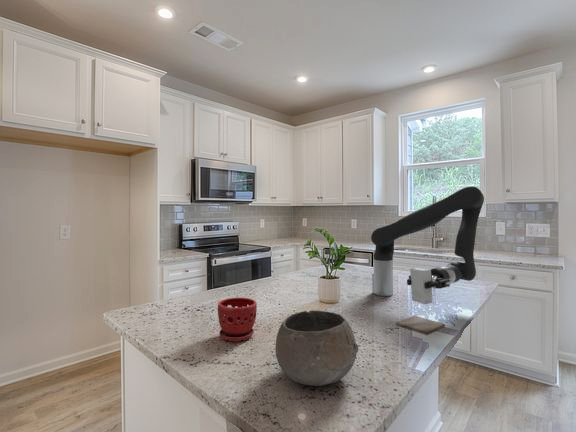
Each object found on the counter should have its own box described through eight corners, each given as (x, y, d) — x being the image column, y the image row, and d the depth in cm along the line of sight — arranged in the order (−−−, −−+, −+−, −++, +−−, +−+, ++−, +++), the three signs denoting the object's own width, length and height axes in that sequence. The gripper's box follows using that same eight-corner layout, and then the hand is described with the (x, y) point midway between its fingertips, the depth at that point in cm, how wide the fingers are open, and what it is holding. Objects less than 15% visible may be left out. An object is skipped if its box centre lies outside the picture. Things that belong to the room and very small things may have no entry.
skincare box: (433, 303, 114) (432, 269, 114) (424, 305, 112) (423, 270, 112) (419, 298, 119) (418, 266, 119) (410, 300, 117) (409, 268, 117)
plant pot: (240, 347, 100) (239, 310, 99) (210, 339, 107) (209, 304, 106) (264, 333, 111) (264, 299, 110) (236, 326, 118) (235, 294, 117)
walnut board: (396, 324, 117) (396, 322, 117) (414, 317, 124) (414, 315, 124) (426, 334, 107) (426, 332, 107) (445, 326, 114) (445, 324, 114)
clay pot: (296, 410, 68) (295, 341, 68) (264, 367, 87) (263, 312, 87) (375, 387, 77) (374, 325, 76) (330, 351, 96) (329, 302, 95)
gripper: (423, 265, 129) (399, 270, 120) (459, 270, 118) (435, 276, 108) (423, 283, 130) (399, 290, 120) (460, 290, 118) (436, 298, 108)
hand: (416, 284), depth 114 cm, fingers closed on skincare box, 6 cm apart
